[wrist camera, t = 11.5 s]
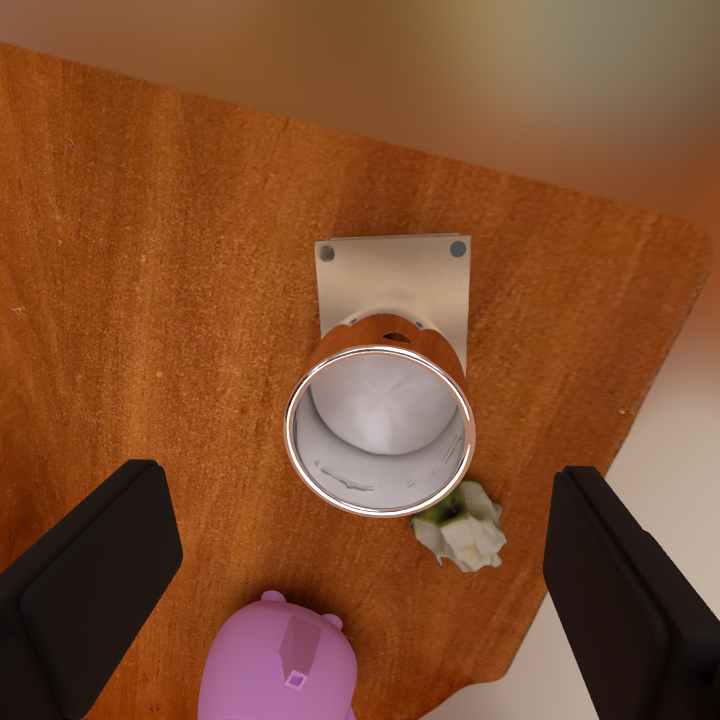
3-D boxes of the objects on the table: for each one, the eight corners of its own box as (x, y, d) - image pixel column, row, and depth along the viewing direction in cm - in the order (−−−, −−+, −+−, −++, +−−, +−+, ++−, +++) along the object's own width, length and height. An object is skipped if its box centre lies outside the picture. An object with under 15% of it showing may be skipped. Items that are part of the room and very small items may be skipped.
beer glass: (390, 255, 27) (372, 293, 12) (465, 328, 28) (528, 441, 13) (320, 330, 29) (237, 436, 15) (392, 396, 30) (380, 555, 15)
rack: (335, 236, 35) (313, 241, 27) (455, 232, 34) (471, 235, 26) (343, 369, 39) (326, 410, 31) (451, 368, 38) (464, 410, 29)
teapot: (419, 601, 47) (424, 765, 33) (352, 704, 54) (333, 878, 39) (259, 535, 46) (194, 673, 32) (212, 647, 53) (141, 803, 39)
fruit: (417, 458, 43) (432, 495, 35) (503, 474, 43) (538, 515, 35) (397, 539, 44) (407, 592, 36) (482, 554, 44) (510, 610, 37)
